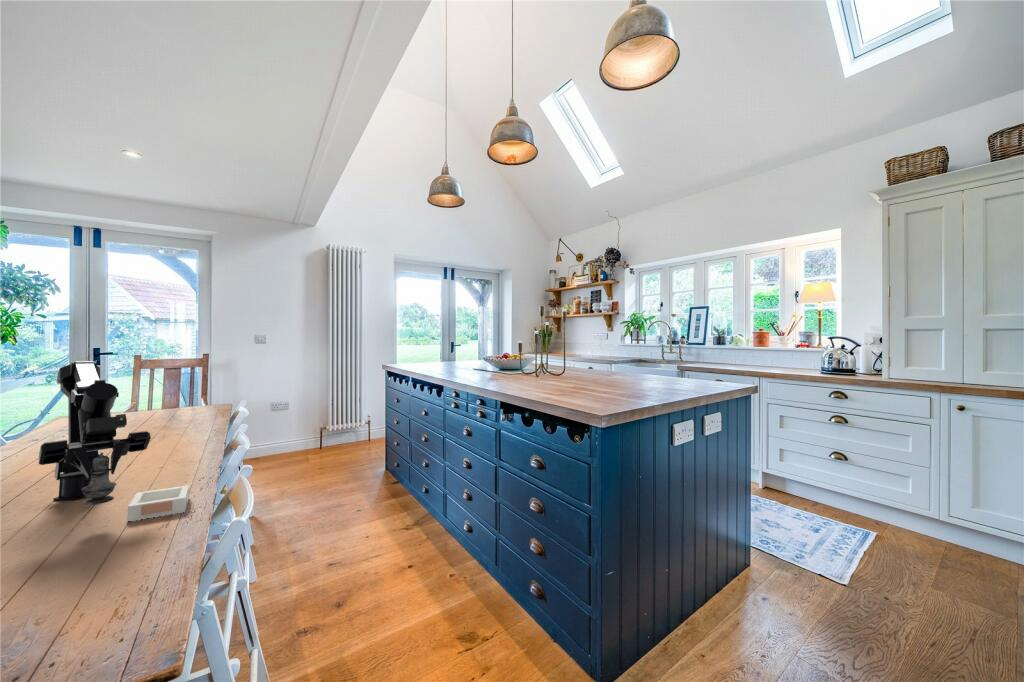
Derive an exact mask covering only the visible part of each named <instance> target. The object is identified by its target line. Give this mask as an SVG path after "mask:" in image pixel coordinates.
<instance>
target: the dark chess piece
mask: <svg viewBox="0 0 1024 682" xmlns="http://www.w3.org/2000/svg"><path fill="white" fill-rule="evenodd" d="M99 453H100V456H98V457H96V458H94V459H93V465H92V471H91V482H90V484H89V485H88V486H86V487H84V488H82V491H83V494H84V495H85V497H84V498H87V499H85V501H83V502H82V503H81V505H83V506H95V505H102V504H105V503H108V502H111V501H113V500H114V499H115V496H111V493H113V491H114V490H115V488H116V486H117V483H116V482H113V481H110V477H109V476H110V472H111V471H110V470H111V468H110V457H109V456H108V455H104V452H99Z"/></svg>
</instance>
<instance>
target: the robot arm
mask: <svg viewBox="0 0 1024 682" xmlns="http://www.w3.org/2000/svg"><path fill="white" fill-rule="evenodd" d="M56 382H57V383H56V384H58V385H60V386H59V387H60V392H61V393H63V395H64V396H66V397H67V398H68V399H67V401H68V402H67V404H68V414H67V415H68V420H67V421H68V422H67V423H68V440H67V439H64V440H57V441H56V440H55V441H47V442H43V443H42V444H41V445H40V448H39V453H38V465H41V466H44V465H50V464H55V468H54V478H55V480H56V481H59V485H58V486H59V487H58V496H56V497H53V498H52V500H53V501H70V500H71V501H73V500H82V499H84V498H86V497H85V495H84V494H83V491H82V488H84V487H86V486H88V485H89V484H90V482H91V471H92V465H93V459H94V458H96V457H98V456H100V453H101V452H99V451H103V450H109V449H110V450H111V449H112V452H111V455H110V469H111V470H110V471H109V472H110V474H111V475H114V474H115V470H116V469H117V466H118V462H120V459H121V458H122V456H126V455H128V453H129V452H130V453H134V452H135V453H137V452H140V451H141V452H143V451H145V450H146V449H148V447H149V443H150V441H151V439H152V437H151V433H150V432H149V431H147V430H141V431H134V432H129V433H128V435H127V438H118V439H115V438H114V437H117V430H118V429H121V428H125V427H126V426H127V424H128V423H127V422H128V421H127V414H126V413H120V414H115V416H112V414H111V410H112V409H113V407H114V404H115V401H116V399H117V398H119V392H118V391H119V389H118V388H117V387H116V385H114V384H112V383H109V382H108V381H107V380H106V379H101V367H100V366H98V365H97V361H93V360H74V361H71V362H70V364H68V365H65V366H62V367H59V369H58V372H57V378H56Z"/></svg>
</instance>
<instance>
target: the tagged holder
mask: <svg viewBox="0 0 1024 682" xmlns="http://www.w3.org/2000/svg"><path fill="white" fill-rule="evenodd" d="M189 499H190V485H189V484H188V485H181V486H174V487H169V488H160V489H154V490H147V491H140V492H136V494H135V495H134V496H133V498H132V499H131V500H130V502H129V504H128V505H127V511H126V512H127V516H126V523H129V522H128V521H132V522H137V521H141V519H143V520H147V519H146V518H149V519H154V518H153V517H155V518H160V517H159V516H161V517H166V516H171V514H172V515H177V513H178V514H183V512H184V513H185V512H186V509H187V506H188V503H189ZM165 515H166V516H165ZM136 520H137V521H136Z"/></svg>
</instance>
